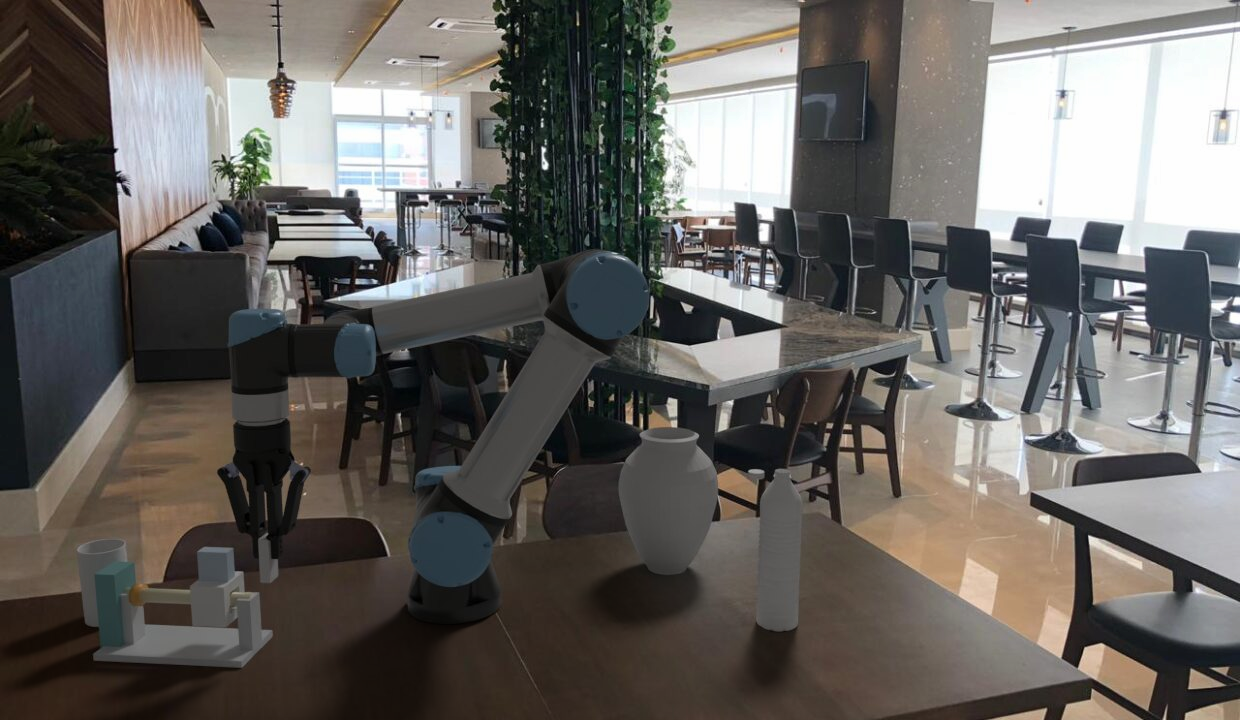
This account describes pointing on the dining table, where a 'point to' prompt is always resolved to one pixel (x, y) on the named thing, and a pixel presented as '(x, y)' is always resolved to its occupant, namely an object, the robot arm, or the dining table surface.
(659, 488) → the vase
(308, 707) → the dining table surface
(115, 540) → the mug
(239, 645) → the grey vise fixture
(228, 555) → the grey stepped block
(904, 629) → the dining table surface
